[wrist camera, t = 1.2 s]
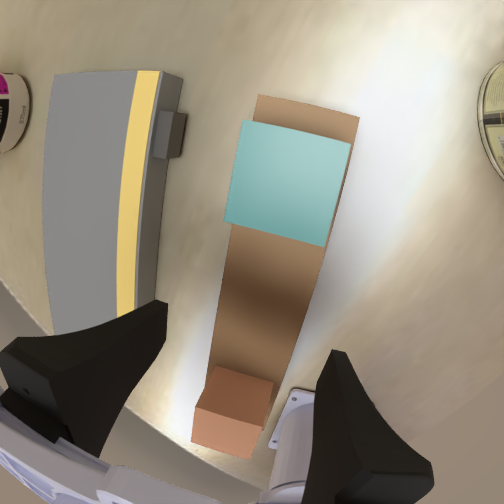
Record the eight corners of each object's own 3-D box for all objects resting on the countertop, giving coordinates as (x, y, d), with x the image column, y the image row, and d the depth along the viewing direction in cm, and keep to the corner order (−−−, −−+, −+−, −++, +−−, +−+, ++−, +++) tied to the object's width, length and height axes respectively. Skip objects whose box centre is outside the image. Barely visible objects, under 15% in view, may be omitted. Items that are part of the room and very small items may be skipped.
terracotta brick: (260, 418, 21) (249, 459, 17) (208, 402, 22) (190, 441, 18) (273, 382, 20) (262, 427, 16) (215, 365, 20) (195, 406, 17)
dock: (162, 361, 28) (147, 382, 25) (72, 322, 29) (54, 337, 26) (196, 80, 19) (177, 72, 16) (78, 77, 20) (53, 74, 18)
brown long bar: (273, 388, 26) (263, 430, 22) (218, 373, 27) (200, 412, 22) (350, 123, 18) (359, 117, 14) (272, 105, 19) (258, 94, 14)
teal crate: (323, 221, 16) (324, 247, 12) (246, 202, 16) (223, 221, 12) (343, 143, 14) (351, 144, 11) (262, 124, 15) (242, 119, 11)
